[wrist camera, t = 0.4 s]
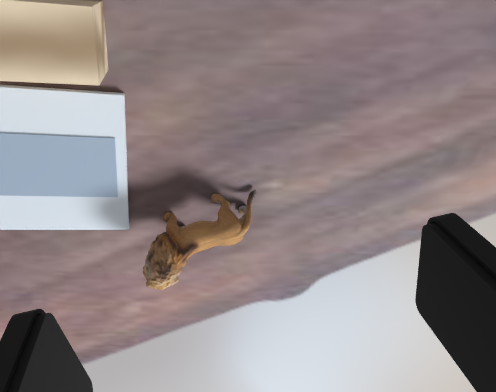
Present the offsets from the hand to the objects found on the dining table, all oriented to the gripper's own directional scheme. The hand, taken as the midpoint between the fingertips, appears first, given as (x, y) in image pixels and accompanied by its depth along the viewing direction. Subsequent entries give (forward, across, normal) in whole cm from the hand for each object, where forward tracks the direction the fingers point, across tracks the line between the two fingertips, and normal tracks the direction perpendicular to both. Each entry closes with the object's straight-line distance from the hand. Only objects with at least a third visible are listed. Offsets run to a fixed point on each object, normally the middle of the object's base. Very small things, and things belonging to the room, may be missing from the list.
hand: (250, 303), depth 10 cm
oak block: (+34, +14, -5) cm, 37 cm away
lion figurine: (+34, +3, +19) cm, 39 cm away
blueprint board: (+34, +17, +8) cm, 39 cm away
